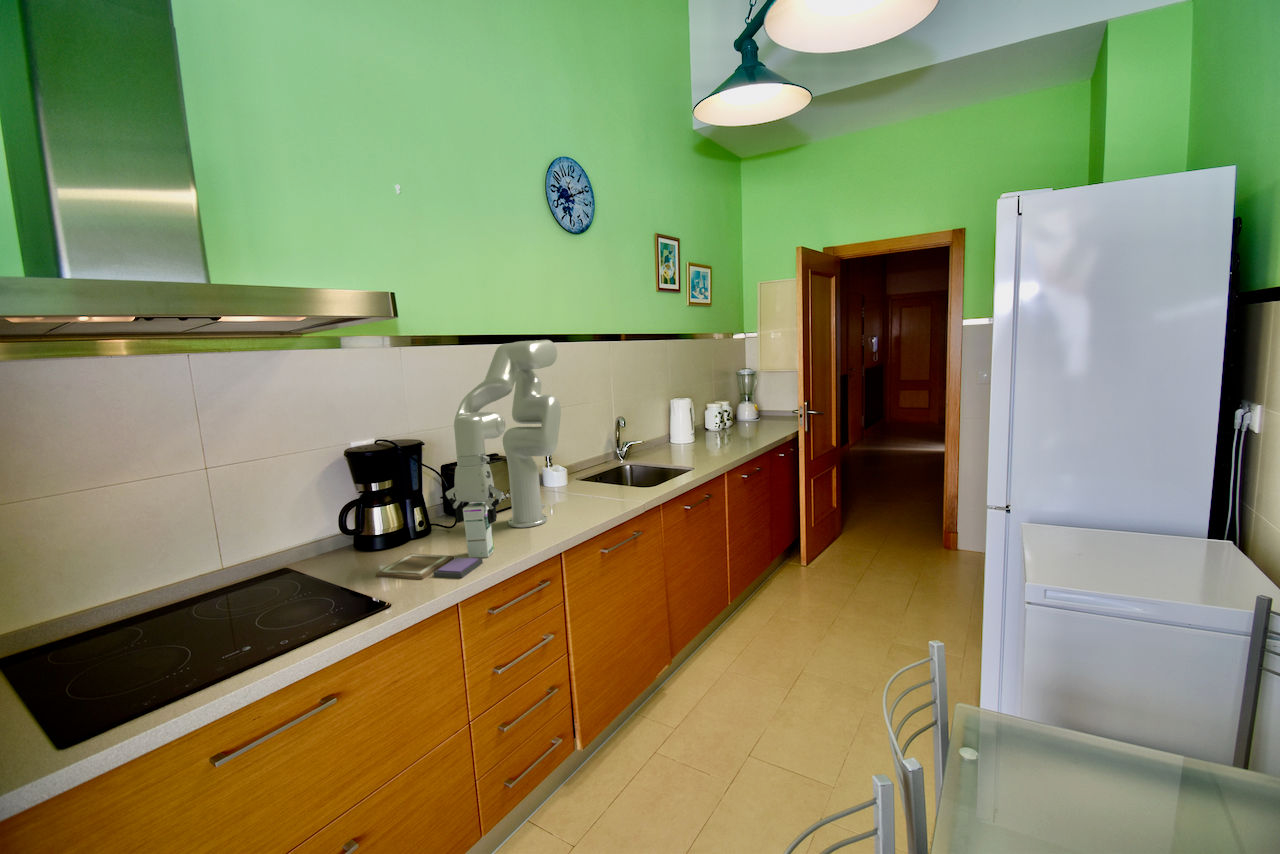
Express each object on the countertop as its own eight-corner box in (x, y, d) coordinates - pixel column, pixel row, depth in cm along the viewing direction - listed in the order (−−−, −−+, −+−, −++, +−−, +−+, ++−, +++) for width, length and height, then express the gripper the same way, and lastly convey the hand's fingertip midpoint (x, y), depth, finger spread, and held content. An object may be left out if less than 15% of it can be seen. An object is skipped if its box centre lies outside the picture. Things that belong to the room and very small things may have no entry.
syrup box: (488, 557, 153) (483, 506, 151) (467, 558, 153) (462, 507, 151) (494, 550, 159) (489, 500, 157) (474, 551, 159) (469, 501, 157)
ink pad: (433, 576, 142) (433, 571, 142) (456, 561, 152) (455, 556, 151) (461, 578, 140) (461, 572, 140) (482, 563, 149) (482, 557, 149)
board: (410, 556, 158) (410, 552, 158) (454, 558, 154) (453, 554, 154) (375, 576, 144) (375, 572, 144) (422, 579, 141) (421, 575, 140)
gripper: (506, 458, 154) (511, 518, 155) (451, 458, 158) (456, 517, 160) (492, 463, 146) (497, 526, 148) (435, 463, 151) (441, 524, 153)
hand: (476, 521), depth 154 cm, fingers open, 9 cm apart
